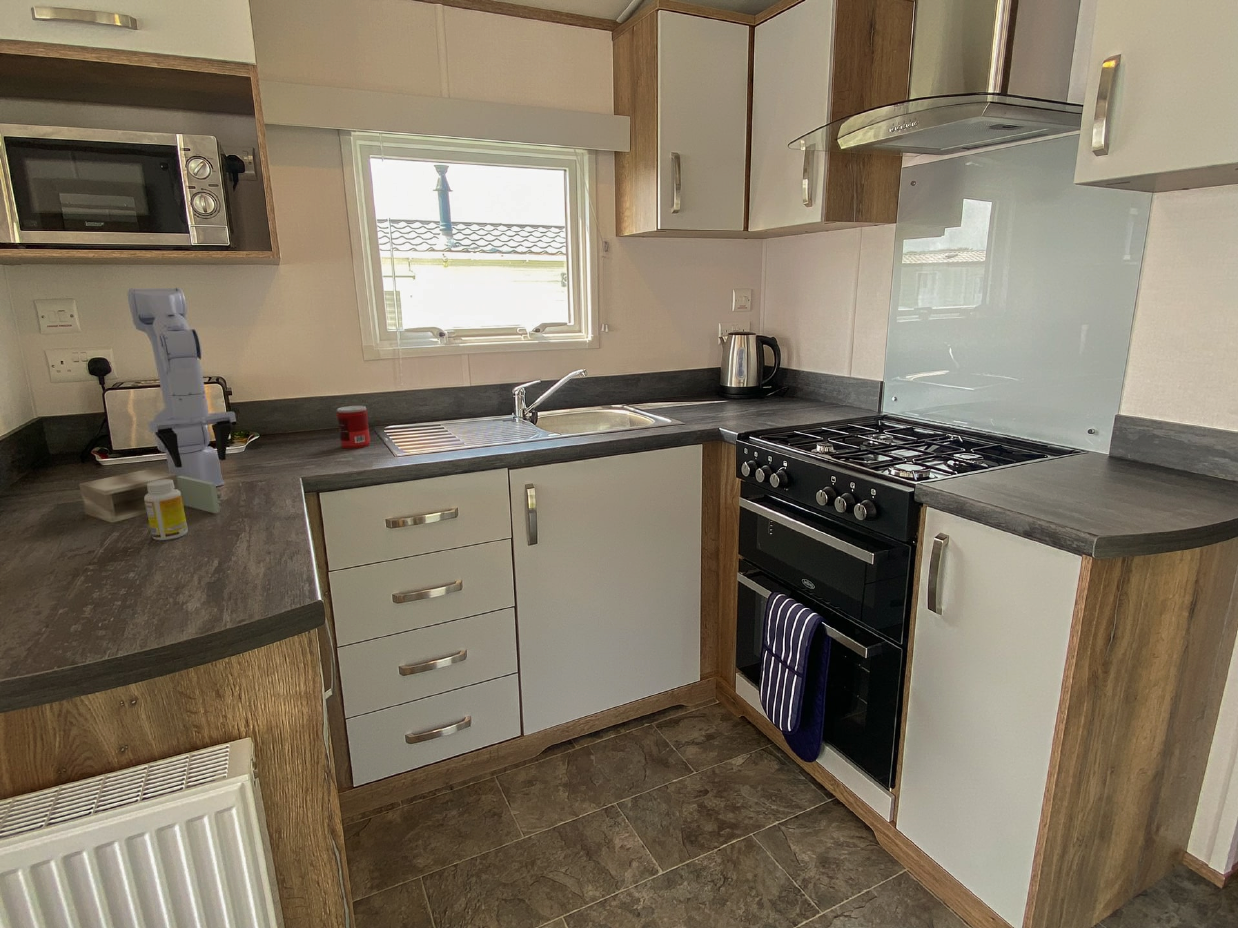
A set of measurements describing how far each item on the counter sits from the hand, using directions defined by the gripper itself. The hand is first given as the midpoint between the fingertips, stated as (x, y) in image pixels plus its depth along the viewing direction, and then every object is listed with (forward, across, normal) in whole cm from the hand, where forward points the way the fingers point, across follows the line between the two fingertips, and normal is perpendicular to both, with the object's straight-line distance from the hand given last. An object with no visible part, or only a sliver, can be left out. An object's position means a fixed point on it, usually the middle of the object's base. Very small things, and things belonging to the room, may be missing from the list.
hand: (200, 463), depth 134 cm
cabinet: (+10, -9, +16) cm, 21 cm away
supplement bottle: (+11, -9, -9) cm, 17 cm away
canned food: (+9, +48, +37) cm, 62 cm away
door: (+10, 0, +5) cm, 11 cm away
